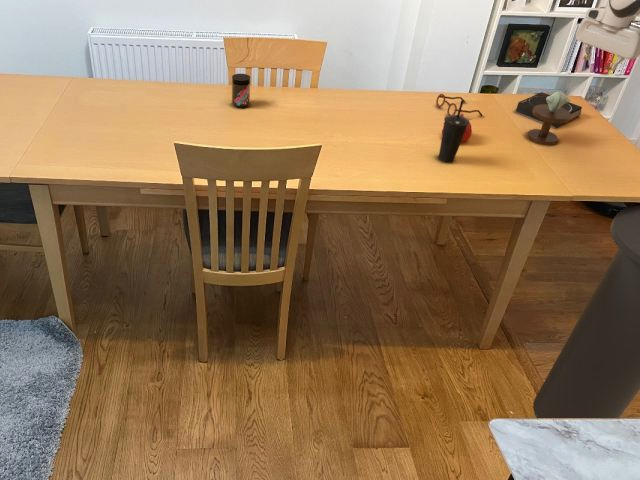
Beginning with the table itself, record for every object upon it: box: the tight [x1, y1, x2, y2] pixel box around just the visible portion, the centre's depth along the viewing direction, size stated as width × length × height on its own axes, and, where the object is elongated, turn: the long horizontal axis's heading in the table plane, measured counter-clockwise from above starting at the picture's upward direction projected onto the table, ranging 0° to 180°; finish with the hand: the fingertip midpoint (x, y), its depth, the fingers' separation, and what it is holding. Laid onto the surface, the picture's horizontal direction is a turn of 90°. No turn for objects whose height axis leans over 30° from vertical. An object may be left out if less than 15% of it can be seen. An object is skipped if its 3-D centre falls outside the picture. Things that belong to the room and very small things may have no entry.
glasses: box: [435, 93, 483, 117], centre depth 219 cm, size 13×13×5 cm
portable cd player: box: [514, 91, 583, 129], centre depth 219 cm, size 16×17×4 cm
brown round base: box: [526, 104, 571, 146], centre depth 202 cm, size 12×12×10 cm
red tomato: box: [441, 113, 473, 143], centre depth 200 cm, size 10×10×9 cm
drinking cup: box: [438, 99, 470, 164], centre depth 185 cm, size 8×8×20 cm
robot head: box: [546, 91, 571, 112], centre depth 197 cm, size 8×4×7 cm, turn 88°
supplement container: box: [231, 73, 251, 109], centre depth 214 cm, size 7×7×10 cm
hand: (598, 64), depth 181 cm, fingers open, 8 cm apart
